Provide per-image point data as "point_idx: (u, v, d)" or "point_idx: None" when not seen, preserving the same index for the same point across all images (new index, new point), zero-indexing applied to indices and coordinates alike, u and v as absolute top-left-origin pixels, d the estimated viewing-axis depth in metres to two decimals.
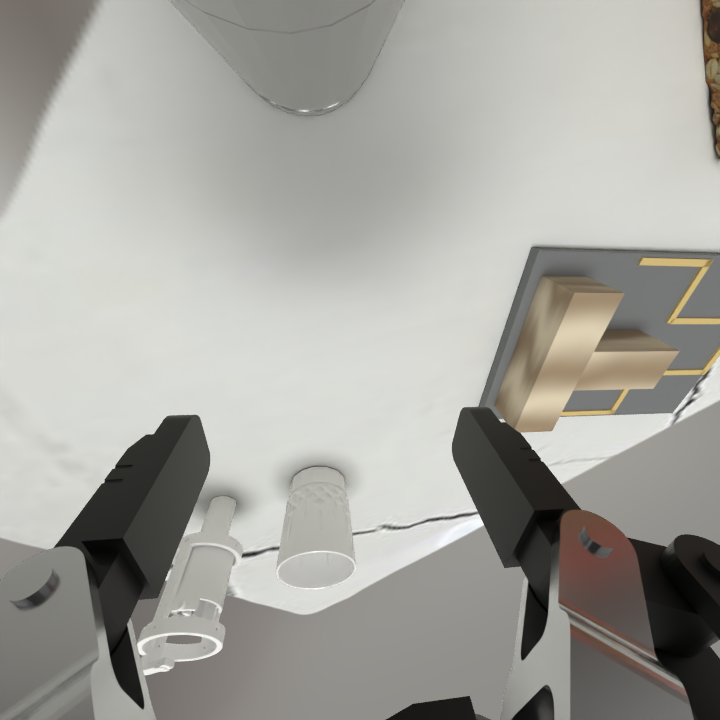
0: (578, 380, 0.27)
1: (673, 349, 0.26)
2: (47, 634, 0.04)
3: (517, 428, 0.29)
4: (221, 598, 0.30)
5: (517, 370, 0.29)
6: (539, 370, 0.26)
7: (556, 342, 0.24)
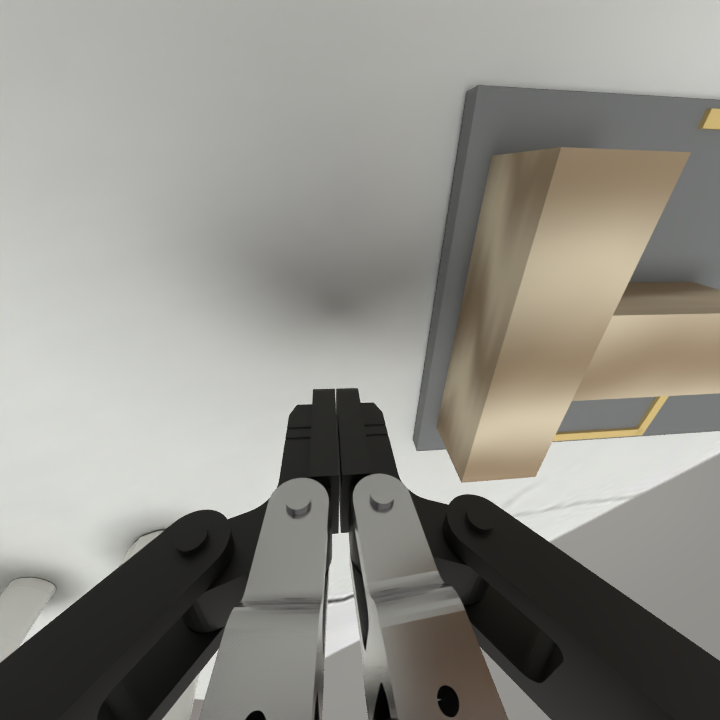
0: (581, 380, 0.13)
1: None
2: (298, 548, 0.05)
3: (468, 475, 0.15)
4: None
5: (462, 364, 0.15)
6: (495, 360, 0.12)
7: (527, 294, 0.10)
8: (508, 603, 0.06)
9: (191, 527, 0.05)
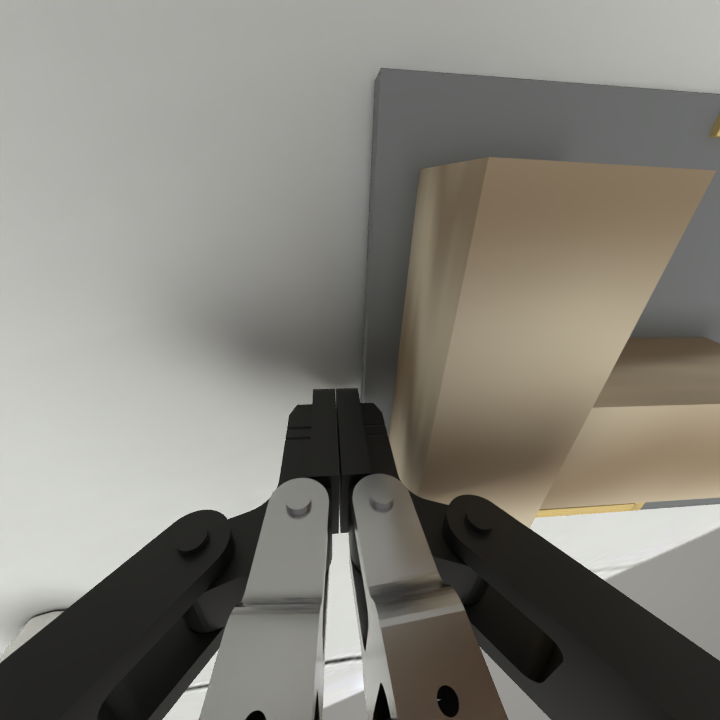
0: (551, 485, 0.09)
1: None
2: (298, 548, 0.05)
3: None
4: None
5: (397, 442, 0.11)
6: (422, 462, 0.08)
7: (457, 381, 0.07)
8: (508, 603, 0.06)
9: (192, 527, 0.05)
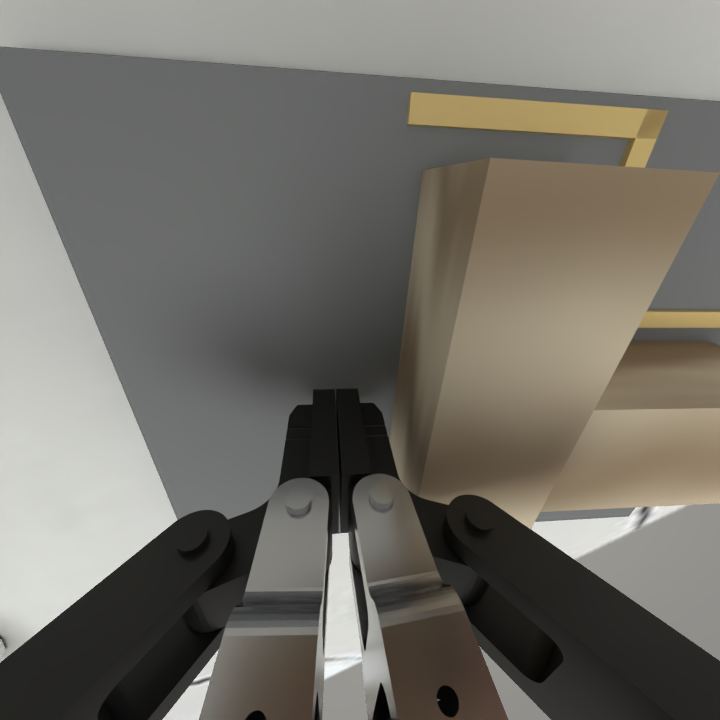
0: (552, 488, 0.09)
1: None
2: (298, 548, 0.05)
3: None
4: None
5: (398, 443, 0.11)
6: (422, 463, 0.08)
7: (458, 381, 0.07)
8: (508, 603, 0.06)
9: (191, 527, 0.05)
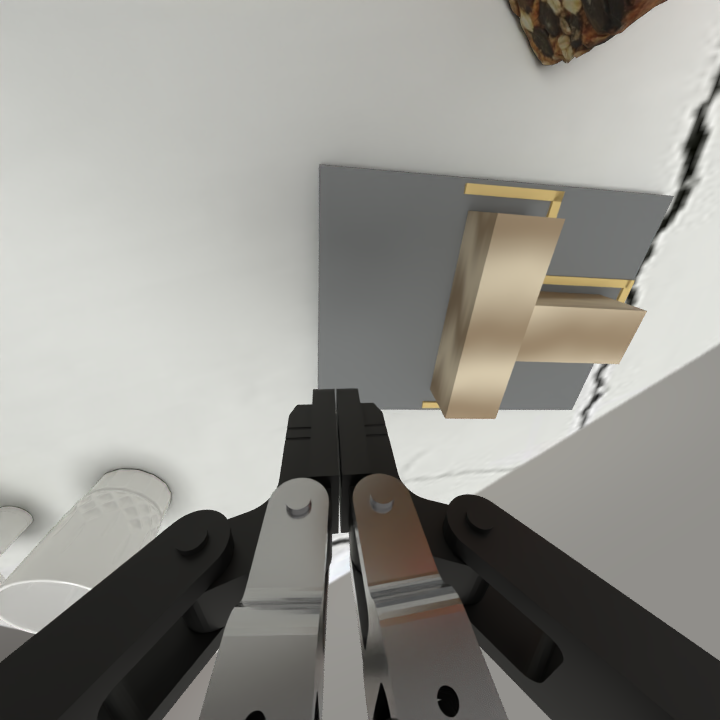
0: (520, 346, 0.21)
1: (639, 309, 0.21)
2: (298, 548, 0.05)
3: (449, 412, 0.23)
4: None
5: (448, 337, 0.23)
6: (466, 329, 0.20)
7: (484, 288, 0.19)
8: (508, 603, 0.06)
9: (191, 527, 0.05)
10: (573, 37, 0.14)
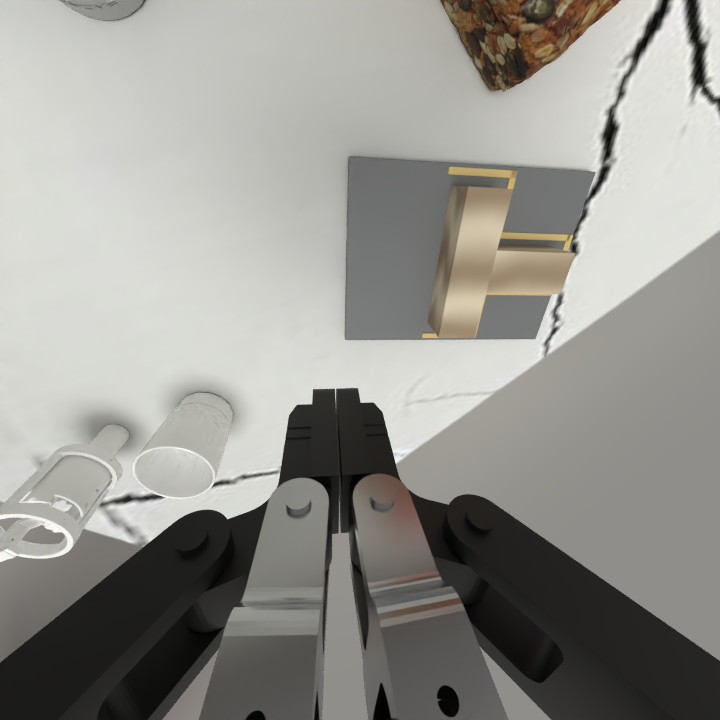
0: (488, 281, 0.30)
1: (570, 252, 0.30)
2: (297, 548, 0.05)
3: (441, 333, 0.32)
4: (82, 500, 0.31)
5: (439, 279, 0.32)
6: (451, 268, 0.29)
7: (461, 239, 0.28)
8: (508, 603, 0.06)
9: (191, 527, 0.05)
10: (503, 77, 0.23)
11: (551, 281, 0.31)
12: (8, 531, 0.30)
